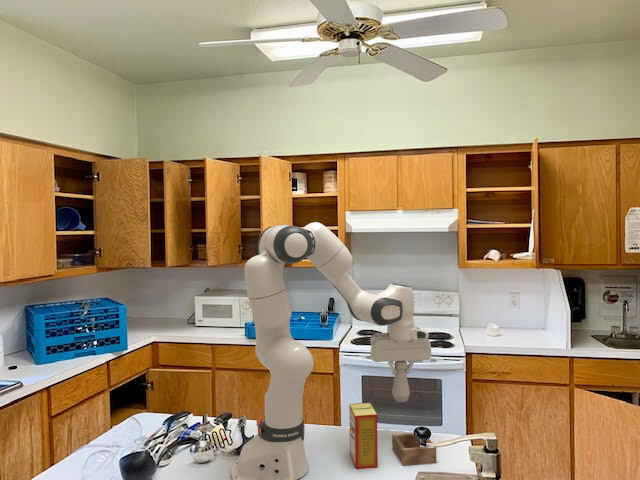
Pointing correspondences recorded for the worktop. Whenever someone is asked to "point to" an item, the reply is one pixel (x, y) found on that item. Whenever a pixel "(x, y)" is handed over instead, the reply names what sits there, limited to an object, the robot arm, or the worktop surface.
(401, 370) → the salt shaker
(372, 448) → the baking soda box
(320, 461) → the worktop surface
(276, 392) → the robot arm
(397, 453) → the box
